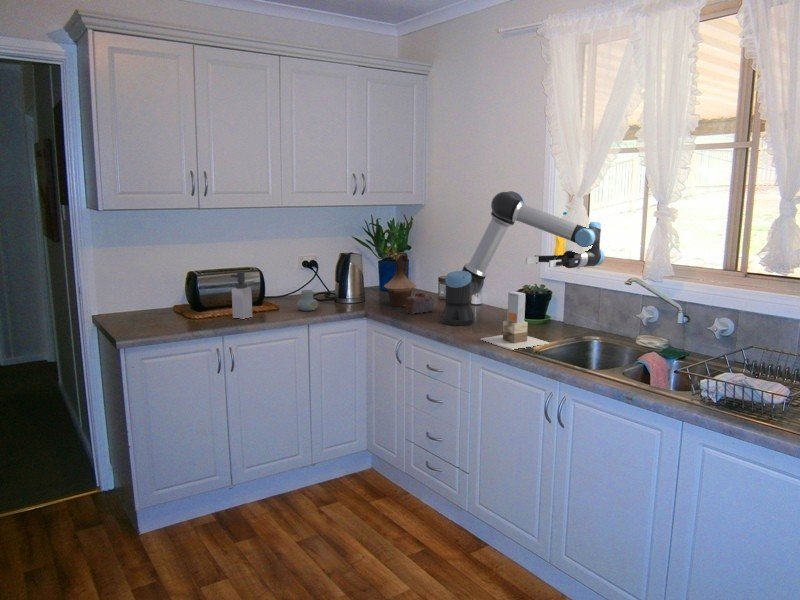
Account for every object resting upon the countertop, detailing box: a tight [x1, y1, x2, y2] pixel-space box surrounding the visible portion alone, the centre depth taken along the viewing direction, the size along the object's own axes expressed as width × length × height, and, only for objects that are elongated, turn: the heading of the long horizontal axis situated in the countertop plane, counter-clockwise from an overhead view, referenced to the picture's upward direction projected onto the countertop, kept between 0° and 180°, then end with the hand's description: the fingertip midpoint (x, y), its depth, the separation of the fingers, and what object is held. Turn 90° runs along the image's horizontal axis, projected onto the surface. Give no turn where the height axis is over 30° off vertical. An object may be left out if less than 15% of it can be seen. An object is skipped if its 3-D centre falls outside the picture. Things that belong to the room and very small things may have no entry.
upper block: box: [502, 319, 529, 334], centre depth 261 cm, size 7×7×4 cm
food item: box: [405, 292, 435, 315], centre depth 320 cm, size 14×8×10 cm, turn 130°
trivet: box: [480, 334, 550, 351], centre depth 262 cm, size 20×20×1 cm
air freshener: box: [296, 289, 319, 312], centre depth 325 cm, size 11×8×10 cm
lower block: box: [502, 330, 528, 343], centre depth 262 cm, size 7×7×4 cm
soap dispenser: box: [230, 271, 253, 320], centre depth 305 cm, size 6×9×22 cm
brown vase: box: [383, 251, 417, 307], centre depth 337 cm, size 18×17×28 cm
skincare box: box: [506, 291, 526, 323], centre depth 260 cm, size 6×4×12 cm
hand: (537, 262), depth 265 cm, fingers open, 13 cm apart
